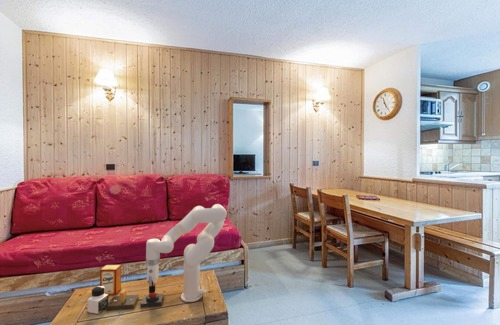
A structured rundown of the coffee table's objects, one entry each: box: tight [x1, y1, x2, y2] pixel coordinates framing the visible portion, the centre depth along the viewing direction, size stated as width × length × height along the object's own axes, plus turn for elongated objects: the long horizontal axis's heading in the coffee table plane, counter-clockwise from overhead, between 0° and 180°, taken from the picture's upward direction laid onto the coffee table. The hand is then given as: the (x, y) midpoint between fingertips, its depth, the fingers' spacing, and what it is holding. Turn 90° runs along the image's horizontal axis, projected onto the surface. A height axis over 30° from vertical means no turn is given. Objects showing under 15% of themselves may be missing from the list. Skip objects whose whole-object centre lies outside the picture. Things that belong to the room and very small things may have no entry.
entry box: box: [140, 292, 165, 308], centre depth 145 cm, size 11×9×4 cm
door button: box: [148, 291, 157, 298], centre depth 145 cm, size 4×4×2 cm
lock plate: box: [105, 294, 140, 312], centre depth 142 cm, size 14×10×3 cm
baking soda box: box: [99, 264, 122, 296], centre depth 155 cm, size 10×6×16 cm
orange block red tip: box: [119, 288, 127, 303], centre depth 142 cm, size 6×2×5 cm, turn 10°
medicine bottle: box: [87, 285, 109, 315], centre depth 137 cm, size 7×7×12 cm
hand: (152, 292), depth 145 cm, fingers closed
